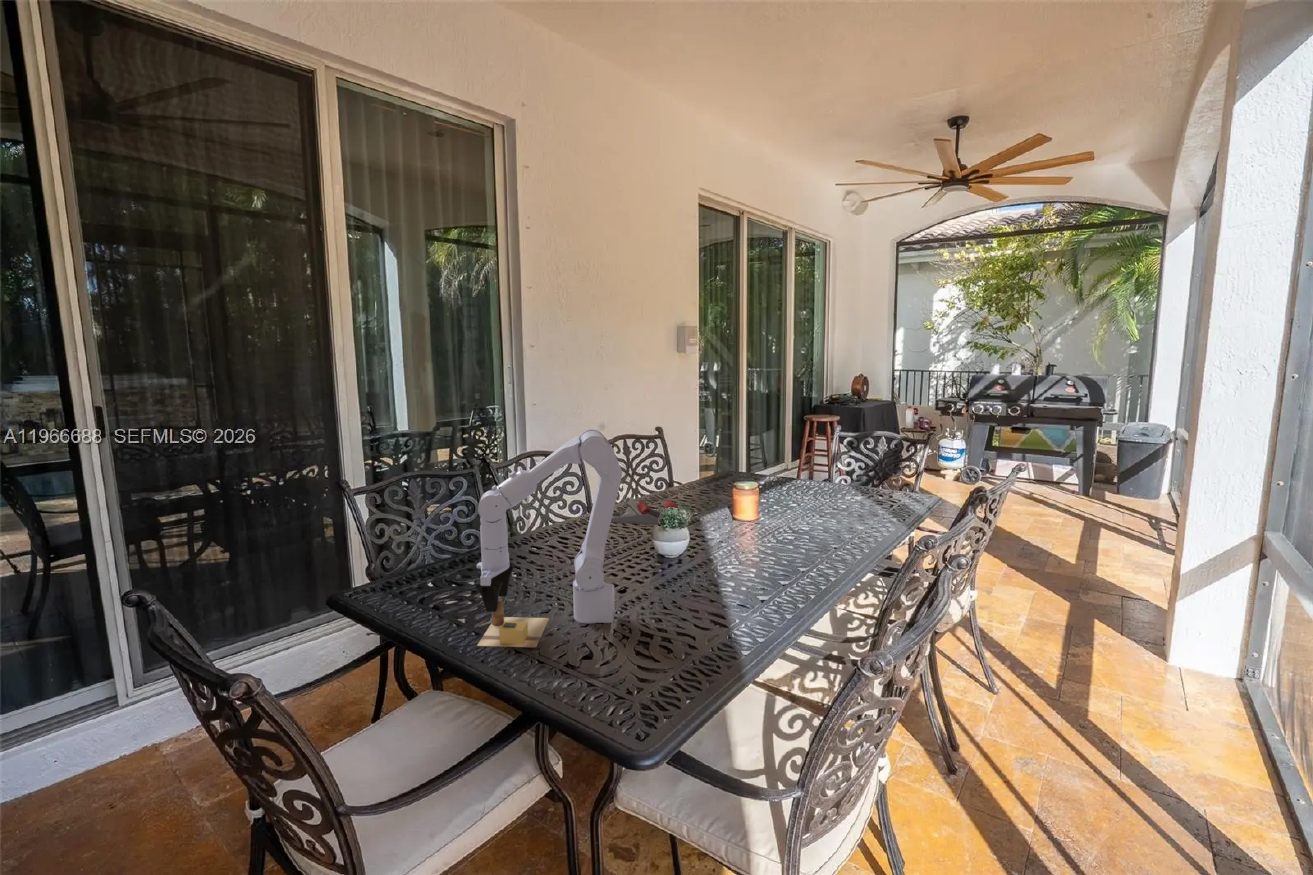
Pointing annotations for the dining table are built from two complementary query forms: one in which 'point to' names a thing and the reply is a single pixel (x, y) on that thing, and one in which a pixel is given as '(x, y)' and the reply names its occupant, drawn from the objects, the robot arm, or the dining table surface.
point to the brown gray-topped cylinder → (498, 614)
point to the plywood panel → (534, 624)
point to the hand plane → (639, 512)
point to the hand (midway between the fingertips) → (496, 603)
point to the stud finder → (513, 632)
